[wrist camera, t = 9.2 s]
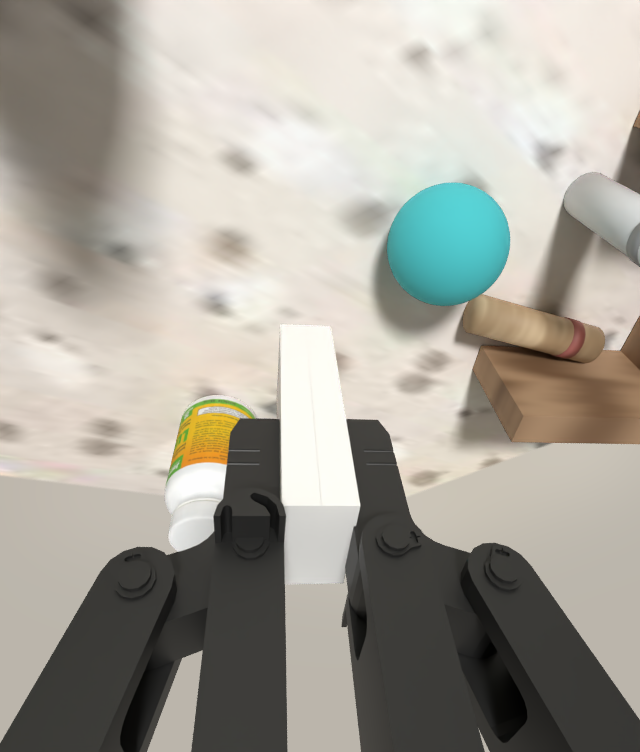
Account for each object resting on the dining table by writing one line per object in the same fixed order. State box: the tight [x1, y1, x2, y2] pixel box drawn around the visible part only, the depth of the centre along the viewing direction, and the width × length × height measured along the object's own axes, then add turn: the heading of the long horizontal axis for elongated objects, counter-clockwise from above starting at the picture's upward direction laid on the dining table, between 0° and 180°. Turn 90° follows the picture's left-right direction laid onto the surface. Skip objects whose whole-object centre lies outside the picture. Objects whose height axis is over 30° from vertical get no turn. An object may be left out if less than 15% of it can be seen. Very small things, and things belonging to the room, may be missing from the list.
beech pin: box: [463, 294, 605, 363], centre depth 30 cm, size 2×2×8 cm
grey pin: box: [564, 172, 640, 267], centre depth 23 cm, size 2×2×8 cm
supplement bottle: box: [164, 395, 257, 552], centre depth 31 cm, size 5×5×10 cm
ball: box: [387, 183, 510, 306], centre depth 25 cm, size 6×6×6 cm
